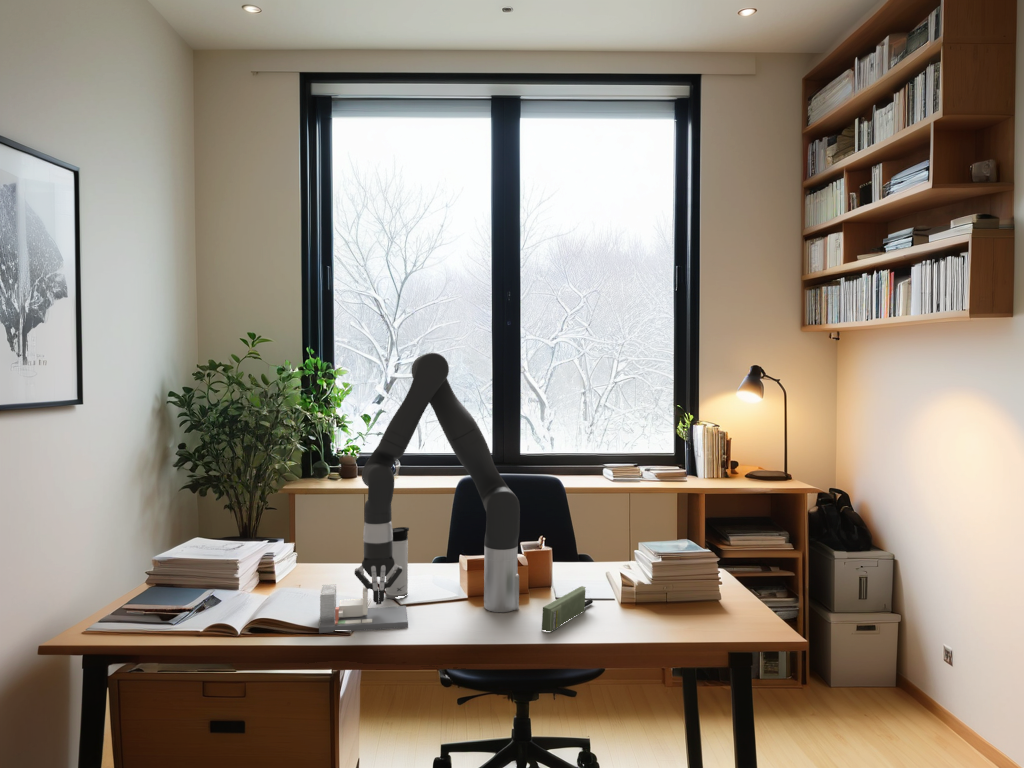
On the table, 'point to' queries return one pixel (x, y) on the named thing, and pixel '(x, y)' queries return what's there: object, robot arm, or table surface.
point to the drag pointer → (336, 615)
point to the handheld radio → (564, 609)
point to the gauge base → (370, 620)
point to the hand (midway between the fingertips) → (378, 603)
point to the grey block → (327, 603)
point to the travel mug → (399, 563)
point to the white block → (354, 606)
